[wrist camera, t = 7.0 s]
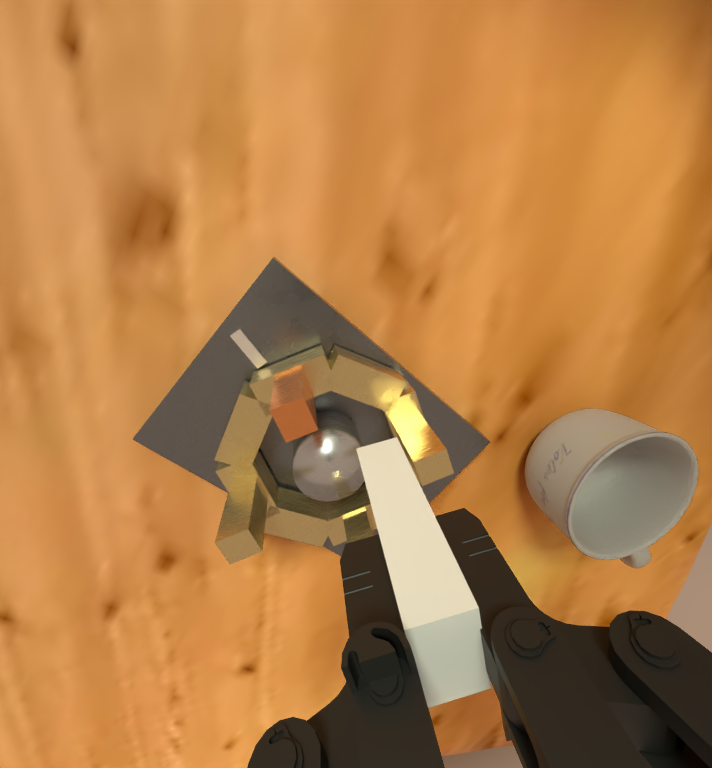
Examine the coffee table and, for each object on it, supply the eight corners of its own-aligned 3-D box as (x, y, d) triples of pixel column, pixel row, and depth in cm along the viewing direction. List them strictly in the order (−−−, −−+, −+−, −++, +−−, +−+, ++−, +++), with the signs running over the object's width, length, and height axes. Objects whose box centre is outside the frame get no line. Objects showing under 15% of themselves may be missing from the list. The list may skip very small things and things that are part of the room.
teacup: (503, 413, 32) (566, 464, 25) (619, 378, 33) (715, 417, 25) (516, 534, 37) (571, 606, 30) (616, 502, 38) (694, 565, 30)
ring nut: (189, 397, 25) (149, 455, 18) (384, 319, 26) (418, 346, 19) (278, 545, 31) (273, 632, 24) (438, 479, 31) (480, 547, 24)
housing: (274, 256, 25) (268, 260, 20) (481, 433, 32) (516, 468, 27) (140, 429, 27) (105, 471, 22) (360, 555, 35) (371, 608, 30)
